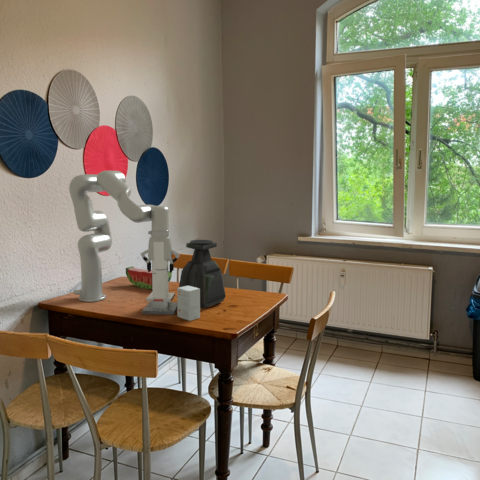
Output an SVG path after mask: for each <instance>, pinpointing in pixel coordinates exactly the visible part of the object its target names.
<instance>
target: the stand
mask: <svg viewBox="0 0 480 480" xmlns="http://www.w3.org/2000/svg"><path fill="white" fill-rule="evenodd" d="M175 296H176V292H169V296H168V297H164V298H156V297H153V291H151V292H150V294H148V296H147V297H146V298H145V302H148V303H147V304H146V305H145V307H144V308H143V309H142V310H141V314H142V315H164V316H165V315H166V316H167V315H169V316H174V315H175V314H176V312H177V301H173V299H174V298H175Z"/></svg>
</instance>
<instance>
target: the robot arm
mask: <svg viewBox="0 0 480 480" xmlns="http://www.w3.org/2000/svg"><path fill="white" fill-rule="evenodd" d="M126 180H127V179H126V176H125V174H124V173H123V172H122V171H120V170H102V171H100V172H99V173H98V174H96V173H95V174H92V173H91V174H90V173H89V174H87V173H86V174H85V173H83V174H78V175H76V176H74V177H73V178H72V179H71V181H70V183H69V186H68V191H69V196H70V198H71V201H72V205H73V209H74V210H73V211H74V215H75V216H74V217H75V221H76V226H77V228H78V229H79V231H80V232H84V233H86V232H87V233H88V232H93V233H89V234H85V235H83V236H81V237H80V238H79V239H78V241H77V250H78V254H79V258H80V274H81V276H80V277H81V278H80V279H81V289H74V290H73V294H74V295H75V296H76V295H79V296H78V300H79V301H81V302H86V303H87V302H91V303H92V302H99V301H103V300H105V299H106V298H107V295H106V294H105V293H103V275H102V274H103V272H102V269H103V268H102V265H103V264H102V260H101V257H100V256H99V253H104V252H106V251H109V250H110V249H111V247H112V245H113V239H112V238H113V237H112V232H111V227H110V223H109V219H108V217H107V215H106V213H104V212H103V211H101V210H94V207H93V203H92V199H91V198H90V197H89V195H88V193H100V192H101V193H103V192H105V193H106V194H108V195H109V196H110V197H111V198H112V199H114V200H115V201H116V204H117V207H118V209H119V211H120V213H122V214H123V215H124V216H125V217H126V218H128V219H129V220H130V221H132V222H134V223H145V222H146V223H147V222H151V230H148V233H147V234H148V235H150V236H149V240H148V247H147V249H146V250H144V251H143V252H141V253H140V256H141V258H142V259H143V261H144V262H145V263H146V270H148V272H150V271H151V270H152V260H154V243H153V242H164V260H168V263H170V264H169V271H170V273H173V271H174V270H175V269H174V266H175V265H174V264H175V263H176V261H178V260H179V258H180V256H181V255H180V253H178V252H177V251H175V250H174V249H172V248H173V246H172V240H171V236H170V235H169V234H170V231H169V229H170V228H169V227H170V217H169V216H170V215H169V212H170V209H169V207H168V206H165V205H154V204H138V205H137V204H136V203H135V202H133V200H132V199H130V197H131V194H132V189H131V187H129V185H127V184H126V182H127V181H126ZM146 255H147V256H146ZM173 255H174V256H175V257H174V258H173Z"/></svg>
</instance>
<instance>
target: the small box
mask: <svg viewBox="0 0 480 480" xmlns="http://www.w3.org/2000/svg"><path fill="white" fill-rule="evenodd" d="M176 290H177V291H176V292H177V293H176V294H177V295H176V296H177V297H176V299H177V300H176V302H177V310H176V312H177V314H176V315H177V318H180V319H183V320H186V321H188V322H189V321H190V322H191V321H193V320H194V321H195V320H196V319H200V318H201V308H200V289H199V288H196V287H192V286H183V287H179V286H178V287H177V289H176Z"/></svg>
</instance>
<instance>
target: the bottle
mask: <svg viewBox="0 0 480 480" xmlns="http://www.w3.org/2000/svg"><path fill="white" fill-rule="evenodd" d="M217 243H218V242H214V241H213V240H210V239H193V240H190V241H189V242H187V243H186V244H185V247H186V248H188V249H192V250H193V252H192V257H191V260H190V261H189V260H188V262H187V263H186V264H185V265H184V266H183V268H182V269H181V274H180V278H179V279H180V280H179V285H178V288H179V287H183V286H192V287H196V288H199V289H200V309H203V310H204V309H207V308H209V307H213V306H214V305H218V304H220V303H222V302H224V300H225V298H226V297H227V294H226V290H225V284H224V278H223V274H222V268H221V267H220V266H219V265H218V263H217V262H216V261H215V260H212V256H211V254H210V253H211V252H210V250H211V249H213V248H216V247H217Z"/></svg>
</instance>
